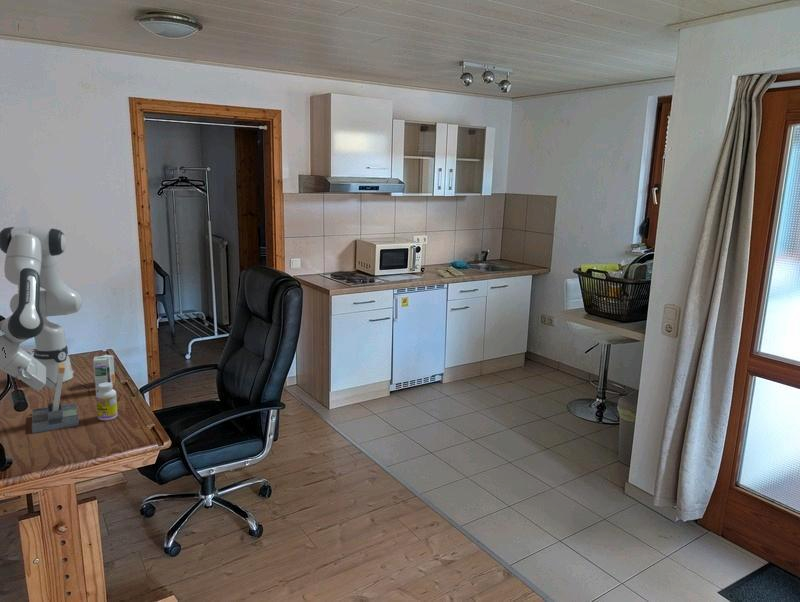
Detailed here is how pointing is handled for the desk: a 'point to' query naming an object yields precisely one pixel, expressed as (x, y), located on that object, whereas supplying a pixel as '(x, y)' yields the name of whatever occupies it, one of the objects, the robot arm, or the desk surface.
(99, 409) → the supplement bottle
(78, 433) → the desk surface
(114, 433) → the desk surface
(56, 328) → the robot arm
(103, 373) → the syrup box
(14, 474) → the desk surface
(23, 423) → the desk surface
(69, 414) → the breaker panel
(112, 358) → the skincare box
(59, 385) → the lever
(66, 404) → the pair of grey rods
